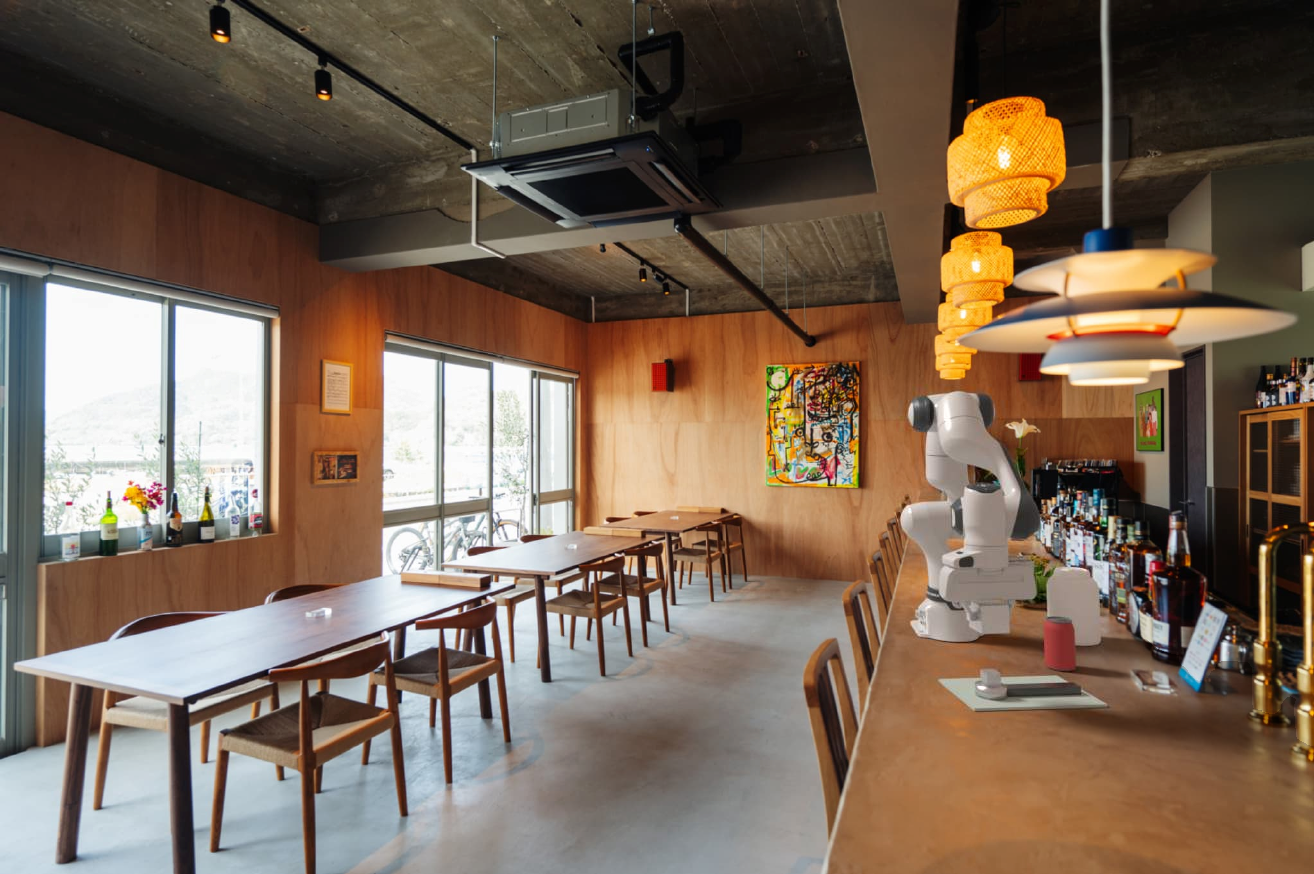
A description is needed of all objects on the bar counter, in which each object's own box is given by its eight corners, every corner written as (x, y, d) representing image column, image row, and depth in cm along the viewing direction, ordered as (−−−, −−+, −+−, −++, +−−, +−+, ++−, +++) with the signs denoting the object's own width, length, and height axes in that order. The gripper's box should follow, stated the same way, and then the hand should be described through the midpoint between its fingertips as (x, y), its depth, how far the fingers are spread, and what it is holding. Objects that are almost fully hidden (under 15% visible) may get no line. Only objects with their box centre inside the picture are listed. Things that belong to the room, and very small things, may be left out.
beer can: (1080, 672, 163) (1078, 622, 164) (1050, 671, 165) (1048, 622, 165) (1069, 664, 170) (1068, 616, 170) (1041, 663, 171) (1039, 615, 171)
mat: (938, 681, 160) (938, 679, 160) (1057, 678, 160) (1056, 675, 160) (974, 711, 142) (974, 708, 142) (1107, 707, 142) (1107, 704, 142)
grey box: (969, 626, 152) (968, 599, 152) (995, 626, 152) (994, 599, 153) (982, 633, 146) (980, 605, 146) (1009, 633, 146) (1008, 605, 147)
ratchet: (969, 690, 153) (969, 667, 153) (1068, 687, 153) (1067, 664, 153) (983, 701, 146) (982, 676, 146) (1086, 697, 146) (1085, 673, 146)
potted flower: (1072, 599, 237) (1070, 549, 237) (1093, 616, 214) (1090, 560, 215) (993, 596, 244) (991, 548, 245) (1005, 612, 222) (1003, 558, 222)
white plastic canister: (1098, 637, 192) (1095, 566, 192) (1103, 649, 181) (1100, 574, 181) (1047, 632, 198) (1044, 563, 198) (1049, 644, 187) (1046, 571, 187)
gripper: (1025, 553, 153) (1027, 615, 153) (934, 556, 153) (937, 618, 153) (1041, 558, 147) (1043, 622, 146) (946, 560, 147) (949, 625, 146)
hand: (988, 620), depth 149 cm, fingers closed on grey box, 6 cm apart
